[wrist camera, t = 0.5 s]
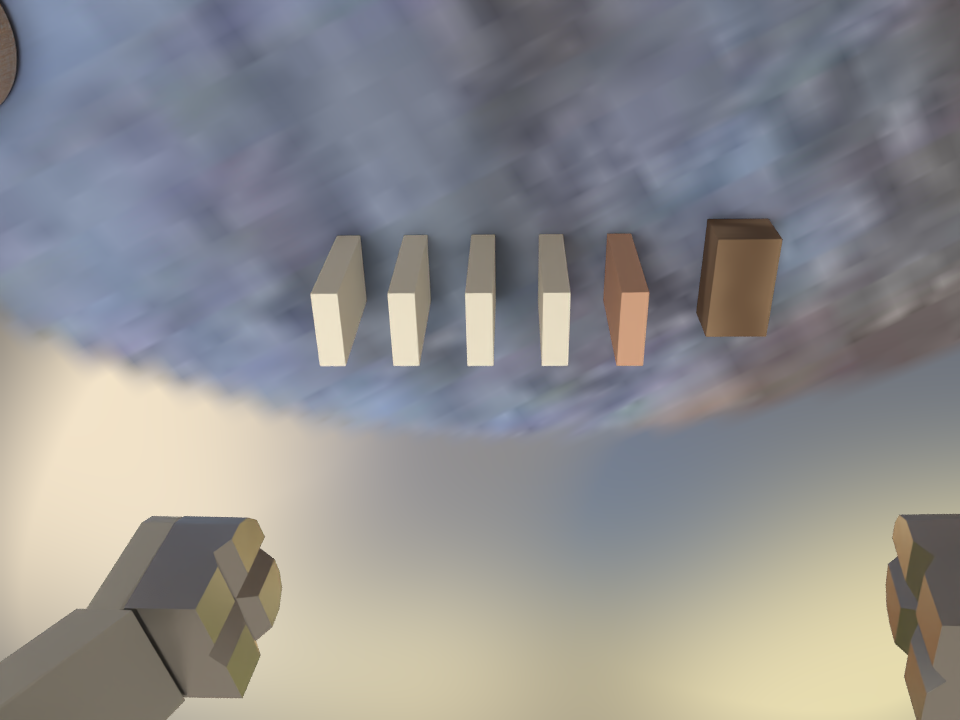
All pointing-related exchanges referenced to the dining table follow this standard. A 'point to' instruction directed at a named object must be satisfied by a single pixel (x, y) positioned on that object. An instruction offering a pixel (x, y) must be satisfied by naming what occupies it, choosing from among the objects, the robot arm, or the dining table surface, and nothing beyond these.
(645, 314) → the domino
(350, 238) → the domino
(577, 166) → the dining table surface
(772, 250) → the block
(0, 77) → the planter
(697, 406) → the dining table surface
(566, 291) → the domino
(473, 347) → the domino
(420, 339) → the domino
